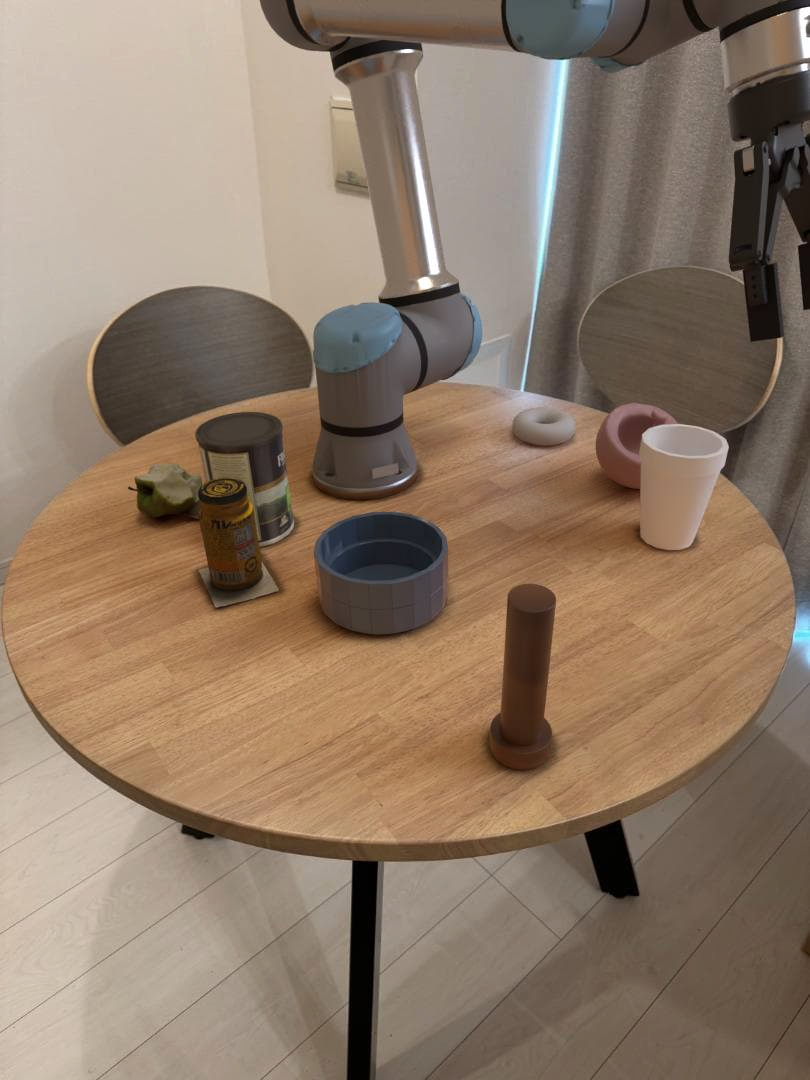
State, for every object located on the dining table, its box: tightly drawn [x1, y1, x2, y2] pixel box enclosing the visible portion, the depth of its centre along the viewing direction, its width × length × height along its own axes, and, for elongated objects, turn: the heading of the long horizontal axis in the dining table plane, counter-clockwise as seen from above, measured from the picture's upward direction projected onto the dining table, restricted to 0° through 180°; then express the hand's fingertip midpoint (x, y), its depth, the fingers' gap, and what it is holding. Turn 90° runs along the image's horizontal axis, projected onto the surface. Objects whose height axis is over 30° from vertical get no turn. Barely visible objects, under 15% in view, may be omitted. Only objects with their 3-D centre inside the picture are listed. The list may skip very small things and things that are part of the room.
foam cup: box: [639, 423, 730, 551], centre depth 88 cm, size 10×9×13 cm
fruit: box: [127, 463, 203, 520], centre depth 99 cm, size 9×9×8 cm
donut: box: [511, 406, 577, 446], centre depth 117 cm, size 10×3×10 cm
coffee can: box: [194, 411, 295, 548], centre depth 92 cm, size 10×10×14 cm
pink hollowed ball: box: [595, 402, 679, 490], centre depth 100 cm, size 12×12×12 cm
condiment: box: [198, 477, 280, 608], centre depth 83 cm, size 7×8×12 cm
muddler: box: [489, 583, 557, 771], centre depth 59 cm, size 5×5×16 cm
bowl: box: [313, 511, 449, 635], centre depth 80 cm, size 14×14×7 cm
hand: (794, 322), depth 72 cm, fingers open, 13 cm apart
